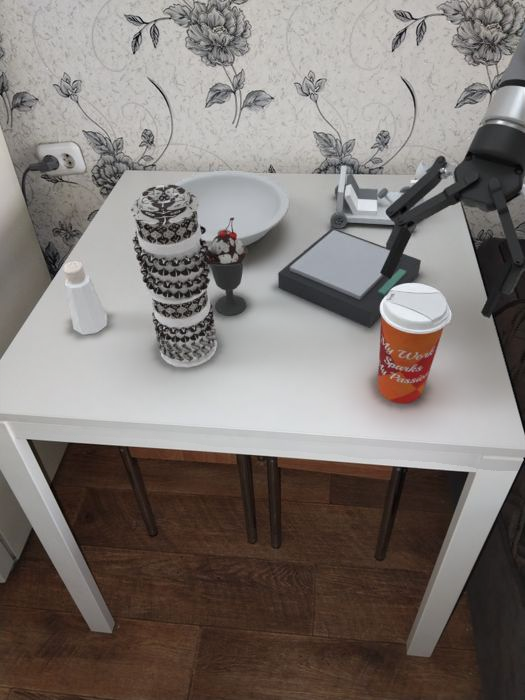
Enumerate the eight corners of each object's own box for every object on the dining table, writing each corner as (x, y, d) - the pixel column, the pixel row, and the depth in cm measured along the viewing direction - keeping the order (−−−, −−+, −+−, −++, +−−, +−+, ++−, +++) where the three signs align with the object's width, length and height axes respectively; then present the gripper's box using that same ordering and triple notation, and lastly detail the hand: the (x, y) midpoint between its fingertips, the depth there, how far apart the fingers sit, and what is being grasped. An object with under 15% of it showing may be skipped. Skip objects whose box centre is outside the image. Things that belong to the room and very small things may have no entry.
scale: (418, 275, 98) (421, 256, 95) (369, 327, 89) (371, 308, 86) (331, 242, 105) (332, 223, 103) (278, 287, 96) (278, 268, 94)
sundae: (253, 292, 96) (248, 211, 85) (249, 319, 91) (243, 237, 80) (213, 291, 96) (203, 210, 86) (206, 318, 91) (195, 236, 81)
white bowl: (289, 199, 116) (289, 168, 112) (290, 272, 99) (289, 239, 95) (169, 201, 117) (163, 171, 113) (148, 274, 100) (141, 241, 96)
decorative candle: (159, 328, 90) (127, 178, 73) (219, 324, 90) (201, 173, 73) (154, 371, 84) (118, 217, 66) (219, 366, 84) (200, 212, 66)
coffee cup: (362, 400, 78) (373, 315, 68) (377, 359, 84) (389, 274, 73) (425, 417, 76) (447, 331, 65) (437, 374, 81) (458, 288, 71)
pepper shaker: (68, 320, 92) (48, 262, 85) (101, 308, 94) (84, 250, 87) (79, 340, 89) (59, 282, 81) (113, 327, 91) (97, 269, 83)
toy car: (436, 153, 107) (439, 184, 99) (427, 201, 114) (430, 234, 106) (337, 149, 110) (332, 179, 102) (334, 196, 117) (329, 228, 108)
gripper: (615, 174, 70) (533, 338, 72) (422, 125, 81) (357, 267, 83) (620, 148, 63) (530, 329, 65) (409, 99, 74) (338, 254, 77)
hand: (433, 295), depth 74 cm, fingers open, 13 cm apart
